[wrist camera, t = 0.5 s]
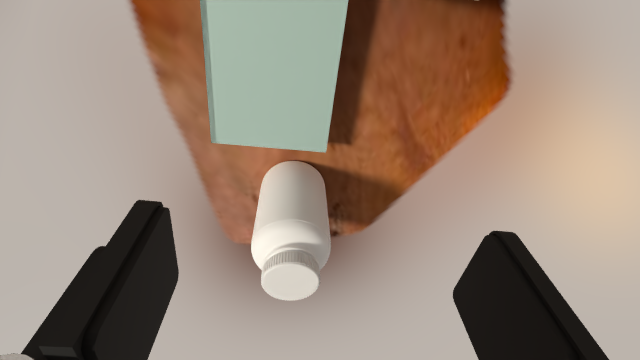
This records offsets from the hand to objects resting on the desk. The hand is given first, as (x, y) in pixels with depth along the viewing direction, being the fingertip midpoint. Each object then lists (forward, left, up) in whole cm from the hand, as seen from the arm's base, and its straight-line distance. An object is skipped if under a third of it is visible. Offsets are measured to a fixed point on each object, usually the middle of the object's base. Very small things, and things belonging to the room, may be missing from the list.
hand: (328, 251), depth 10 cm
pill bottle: (+17, -1, -27) cm, 32 cm away
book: (+2, -4, -27) cm, 28 cm away
